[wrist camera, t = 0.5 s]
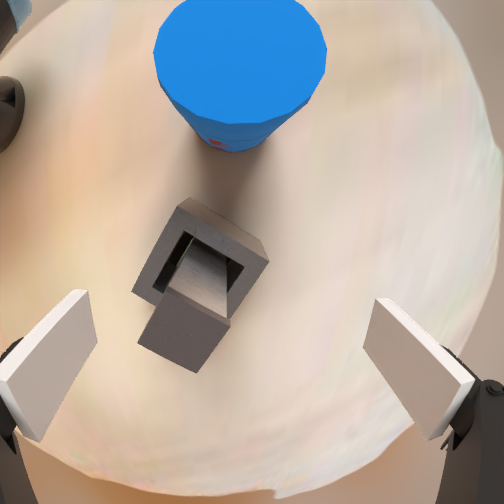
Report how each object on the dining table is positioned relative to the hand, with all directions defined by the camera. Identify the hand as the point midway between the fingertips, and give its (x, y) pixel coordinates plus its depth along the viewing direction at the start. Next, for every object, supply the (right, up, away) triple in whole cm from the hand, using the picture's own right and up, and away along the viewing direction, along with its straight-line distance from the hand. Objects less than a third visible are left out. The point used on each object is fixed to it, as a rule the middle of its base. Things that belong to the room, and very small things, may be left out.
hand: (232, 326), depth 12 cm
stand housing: (-6, +3, +31) cm, 31 cm away
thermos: (-2, +22, +26) cm, 34 cm away
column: (-6, +3, +31) cm, 31 cm away
